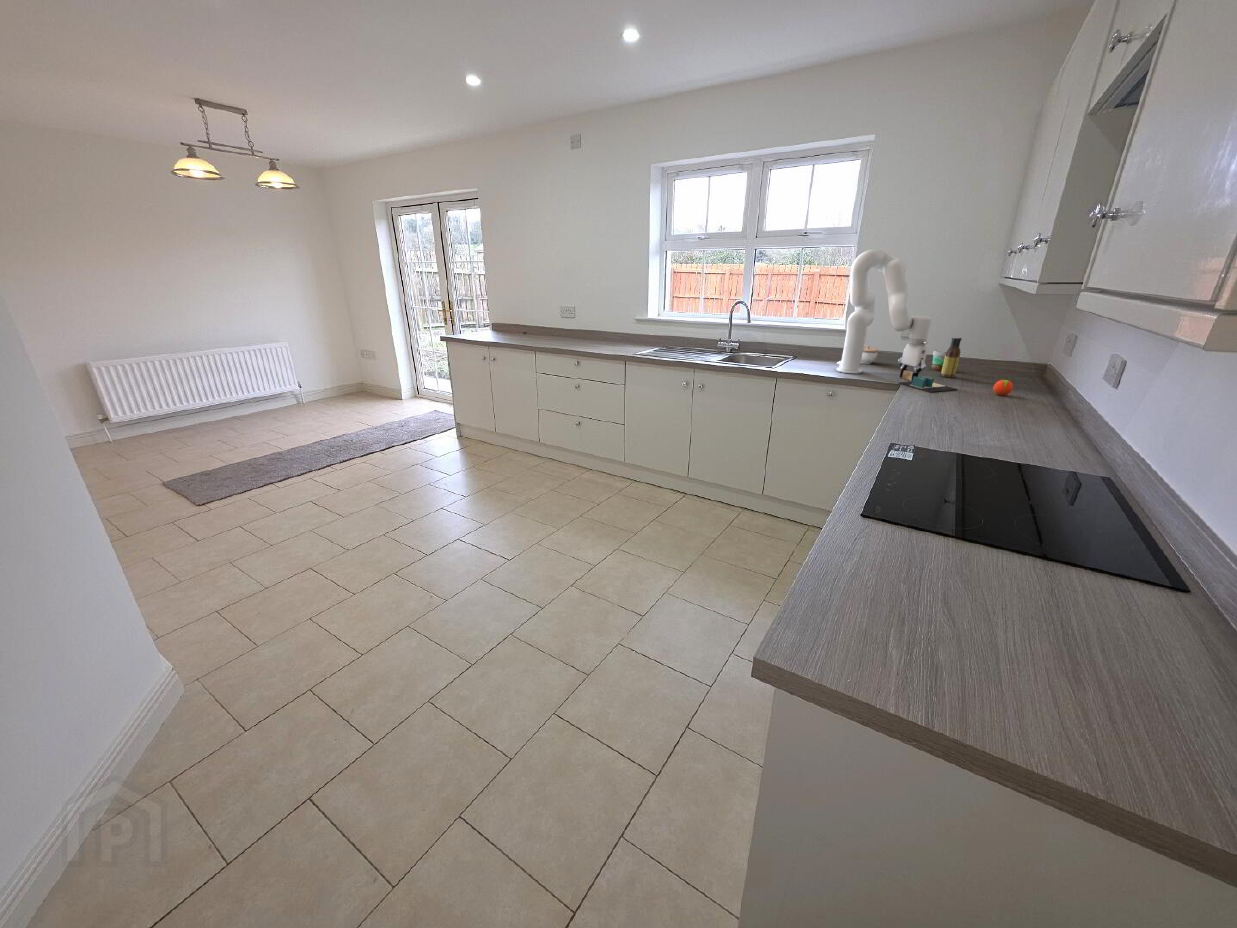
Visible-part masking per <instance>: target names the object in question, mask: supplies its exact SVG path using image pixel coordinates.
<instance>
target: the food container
mask: <svg viewBox="0 0 1237 928" xmlns="http://www.w3.org/2000/svg"><path fill="white" fill-rule="evenodd" d="M946 352H947V351H938V350H937V349H934V350H933V352H932V355H933V356H932V364H931V370H933V371H936V372H942V367H943V363H944V359H945V355H946Z"/></svg>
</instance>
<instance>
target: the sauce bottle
mask: <svg viewBox="0 0 1237 928" xmlns="http://www.w3.org/2000/svg"><path fill="white" fill-rule="evenodd" d="M961 341H962V337H960V336H952V337H951V342H950V346H949V347H948V349H947V350H946V351H945V352H946V355H945V359H944V363H943V367H942V371H940V373H941V374H940V376H941V377H943V378H950V379H951V378H955V377H956V373H957V369H958V366H959V362H960V356H961V348H960V345H961Z"/></svg>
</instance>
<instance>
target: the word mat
mask: <svg viewBox="0 0 1237 928" xmlns="http://www.w3.org/2000/svg"><path fill="white" fill-rule="evenodd" d="M898 384H899V385H903V386H906V387H910V388H913V389H916V390H920V391H924V392H927V393H932V394H933V393H942V392H951V391H958V388H955V387H951V386H948V385H943V384H940V383H936V382H933V384H932V387H926V386H925V387H924V388H920V387H916V386H913V385H911V384H912V381H900V382H898Z"/></svg>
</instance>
